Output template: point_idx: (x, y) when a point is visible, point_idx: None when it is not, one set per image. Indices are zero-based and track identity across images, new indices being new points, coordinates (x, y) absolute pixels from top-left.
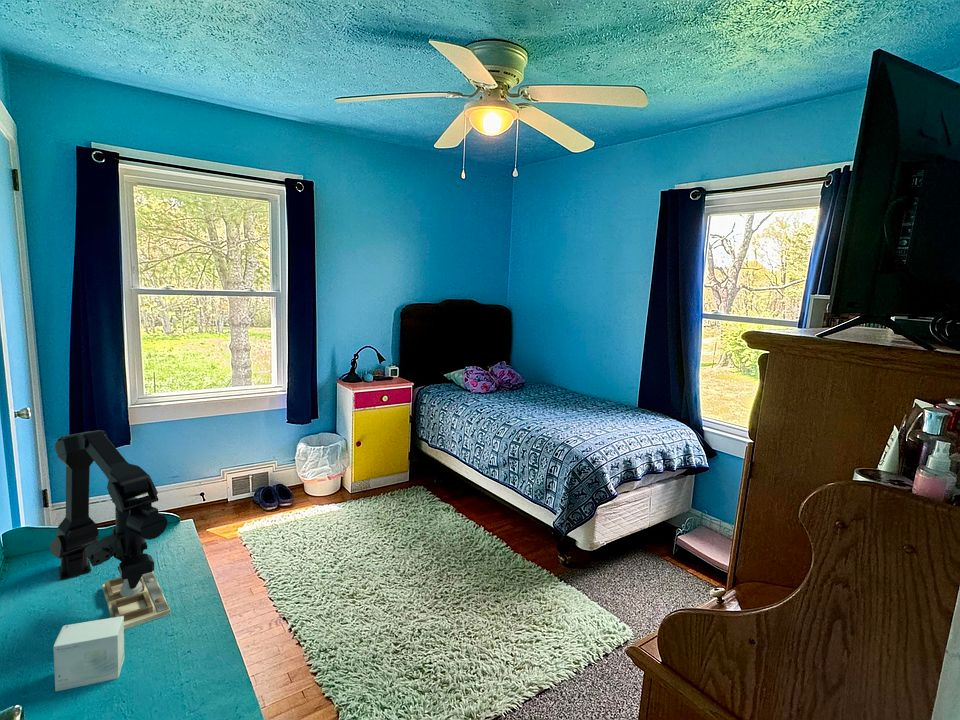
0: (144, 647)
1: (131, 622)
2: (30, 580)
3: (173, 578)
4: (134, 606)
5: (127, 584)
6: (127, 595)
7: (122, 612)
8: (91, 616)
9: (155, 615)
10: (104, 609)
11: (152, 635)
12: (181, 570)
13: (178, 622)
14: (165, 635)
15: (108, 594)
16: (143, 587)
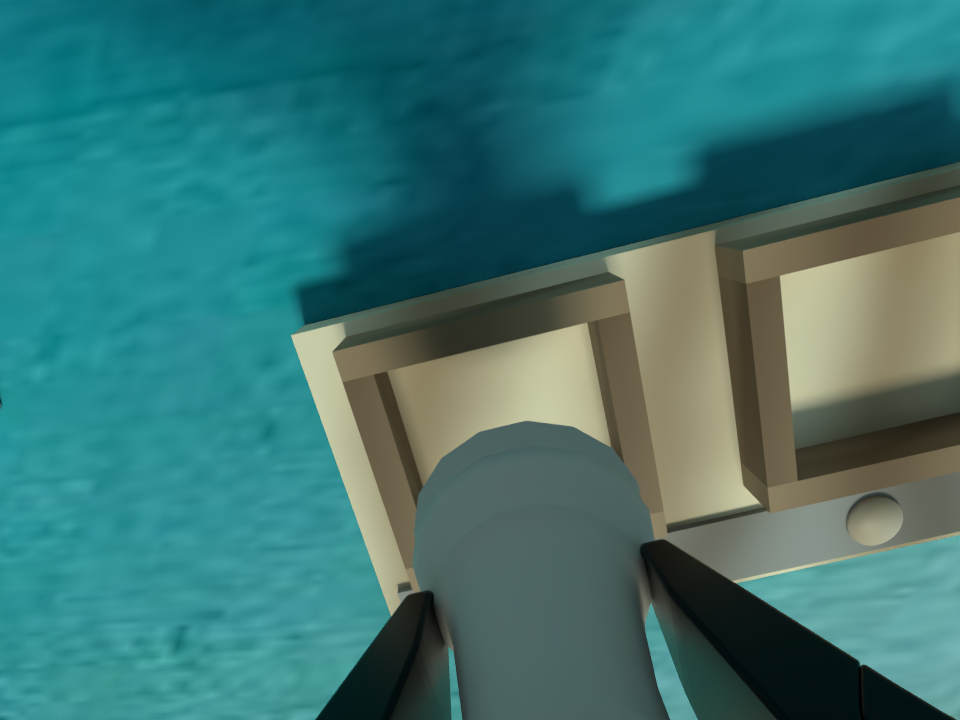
0: (87, 512)
1: (330, 438)
2: None
3: (851, 623)
4: None
5: (459, 594)
6: (423, 505)
7: (496, 363)
8: (603, 119)
9: (378, 571)
10: (662, 208)
11: (205, 546)
12: (930, 663)
13: (300, 668)
14: (184, 611)
15: (799, 232)
16: (760, 499)
